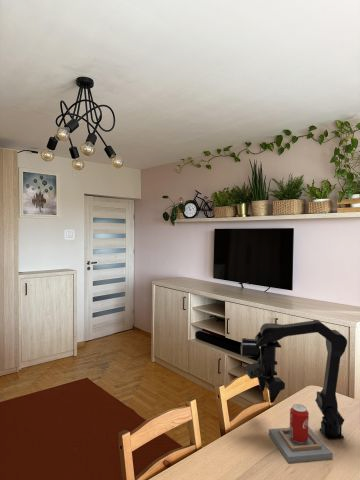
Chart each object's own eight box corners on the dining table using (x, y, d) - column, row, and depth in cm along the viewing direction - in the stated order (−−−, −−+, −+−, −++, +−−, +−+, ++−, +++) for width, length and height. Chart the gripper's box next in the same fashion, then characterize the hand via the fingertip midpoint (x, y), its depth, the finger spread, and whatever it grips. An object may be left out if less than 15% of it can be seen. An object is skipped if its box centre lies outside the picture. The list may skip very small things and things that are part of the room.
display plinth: (308, 431, 133) (308, 423, 133) (332, 458, 117) (332, 449, 117) (268, 434, 131) (269, 426, 131) (288, 462, 115) (288, 453, 115)
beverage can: (309, 446, 121) (310, 413, 120) (290, 443, 122) (291, 410, 121) (306, 435, 127) (307, 403, 126) (288, 433, 128) (289, 402, 128)
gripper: (239, 349, 141) (239, 386, 141) (256, 368, 122) (255, 411, 123) (265, 348, 142) (264, 385, 143) (286, 366, 124) (285, 409, 125)
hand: (266, 396), depth 133 cm, fingers open, 9 cm apart
